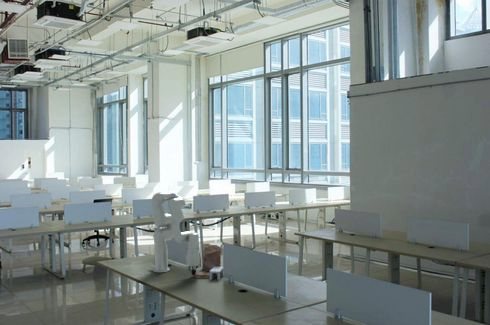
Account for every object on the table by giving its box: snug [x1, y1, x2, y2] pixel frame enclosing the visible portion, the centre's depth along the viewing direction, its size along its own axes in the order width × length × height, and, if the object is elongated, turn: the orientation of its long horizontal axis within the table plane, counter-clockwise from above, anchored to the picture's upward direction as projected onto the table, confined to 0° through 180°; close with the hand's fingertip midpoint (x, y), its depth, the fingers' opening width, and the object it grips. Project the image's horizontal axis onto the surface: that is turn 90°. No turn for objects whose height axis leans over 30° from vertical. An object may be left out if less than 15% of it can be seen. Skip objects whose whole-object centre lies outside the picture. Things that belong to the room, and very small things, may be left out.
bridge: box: [209, 266, 225, 281], centre depth 377 cm, size 7×14×6 cm, turn 170°
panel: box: [194, 271, 217, 279], centre depth 379 cm, size 14×8×3 cm, turn 83°
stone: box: [201, 243, 222, 272], centre depth 397 cm, size 19×11×20 cm, turn 52°
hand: (193, 274), depth 380 cm, fingers closed
